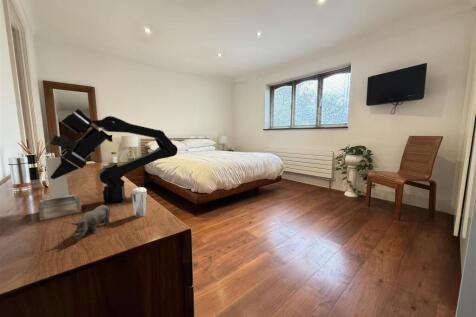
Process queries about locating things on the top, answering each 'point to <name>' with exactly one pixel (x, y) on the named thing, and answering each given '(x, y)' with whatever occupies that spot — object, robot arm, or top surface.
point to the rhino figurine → (92, 221)
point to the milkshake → (139, 201)
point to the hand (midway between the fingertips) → (51, 177)
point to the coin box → (59, 206)
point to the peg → (59, 184)
